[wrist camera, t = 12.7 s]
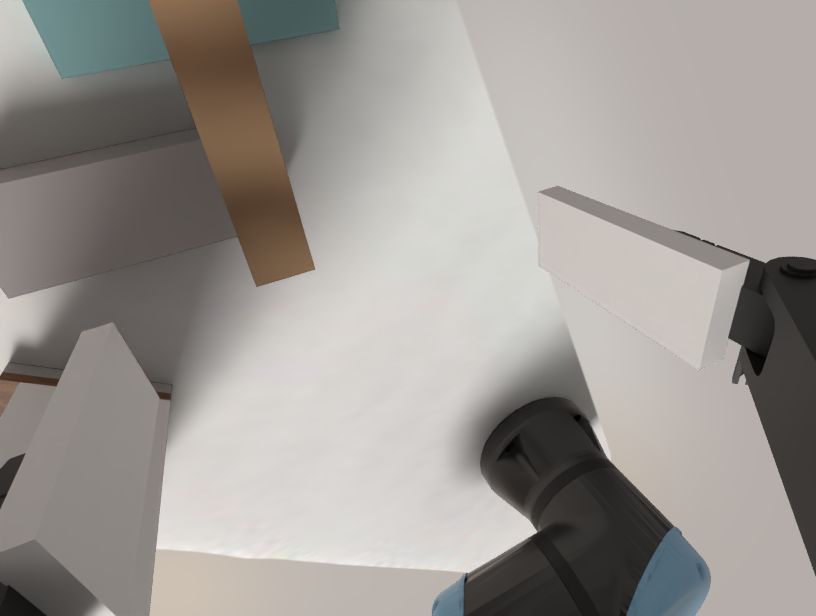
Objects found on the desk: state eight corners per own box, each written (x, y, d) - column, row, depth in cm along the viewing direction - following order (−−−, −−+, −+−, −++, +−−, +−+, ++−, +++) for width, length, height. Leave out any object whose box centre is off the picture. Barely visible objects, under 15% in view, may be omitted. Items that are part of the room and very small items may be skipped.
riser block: (274, 202, 34) (284, 223, 30) (35, 264, 30) (8, 298, 26) (247, 116, 31) (254, 127, 27) (-25, 174, 27) (-66, 197, 23)
